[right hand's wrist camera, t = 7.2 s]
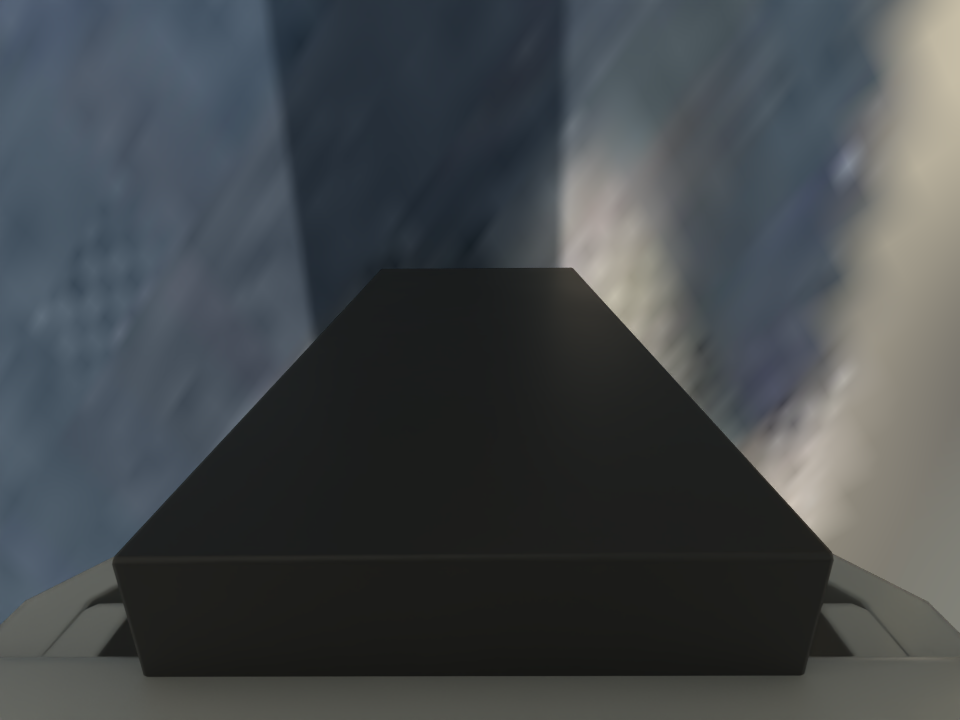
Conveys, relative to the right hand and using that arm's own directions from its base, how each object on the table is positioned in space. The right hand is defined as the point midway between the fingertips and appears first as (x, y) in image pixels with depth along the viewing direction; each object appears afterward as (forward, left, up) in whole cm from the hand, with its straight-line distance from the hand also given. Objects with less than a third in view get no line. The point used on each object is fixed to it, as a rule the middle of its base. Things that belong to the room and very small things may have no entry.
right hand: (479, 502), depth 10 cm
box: (+8, 0, -8) cm, 11 cm away
